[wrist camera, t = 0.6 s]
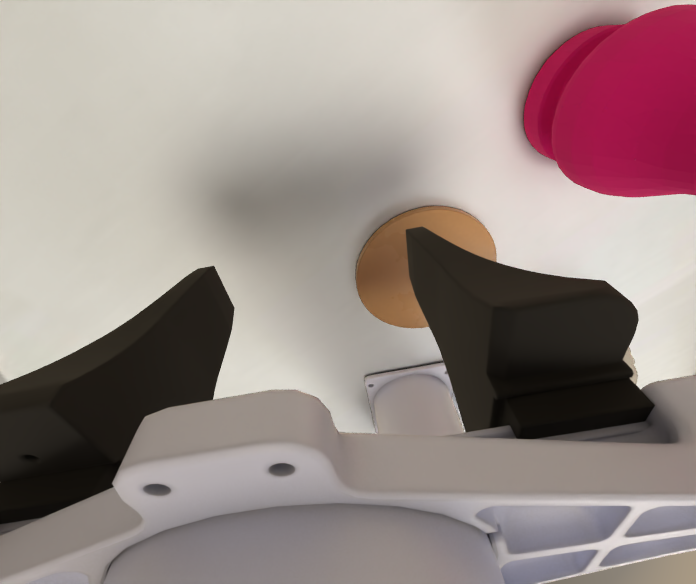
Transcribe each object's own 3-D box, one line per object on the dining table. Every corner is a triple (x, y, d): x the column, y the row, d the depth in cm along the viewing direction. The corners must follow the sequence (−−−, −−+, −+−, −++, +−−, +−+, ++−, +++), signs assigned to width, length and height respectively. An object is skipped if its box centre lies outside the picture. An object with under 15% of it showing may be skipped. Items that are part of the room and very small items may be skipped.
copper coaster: (488, 311, 27) (491, 315, 27) (366, 333, 28) (367, 338, 27) (499, 191, 21) (503, 195, 21) (343, 222, 22) (344, 226, 21)
